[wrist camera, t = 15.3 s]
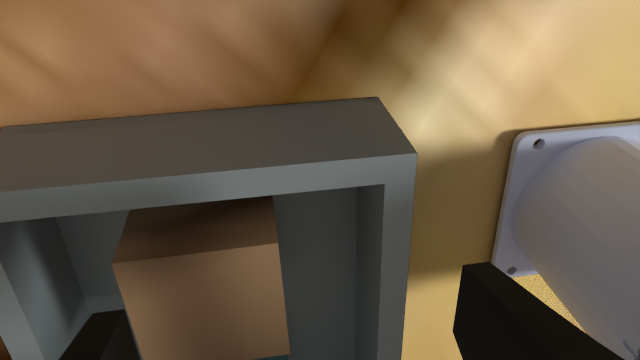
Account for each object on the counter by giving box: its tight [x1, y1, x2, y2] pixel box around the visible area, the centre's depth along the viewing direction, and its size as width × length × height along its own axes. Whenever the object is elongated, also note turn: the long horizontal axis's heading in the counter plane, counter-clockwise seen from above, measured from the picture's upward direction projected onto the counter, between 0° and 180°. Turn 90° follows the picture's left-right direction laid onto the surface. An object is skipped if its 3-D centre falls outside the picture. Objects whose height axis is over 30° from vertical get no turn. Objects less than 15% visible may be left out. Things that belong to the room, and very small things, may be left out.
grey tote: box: [0, 97, 417, 360], centre depth 21 cm, size 14×18×5 cm
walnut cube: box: [111, 195, 290, 360], centre depth 18 cm, size 5×5×5 cm
